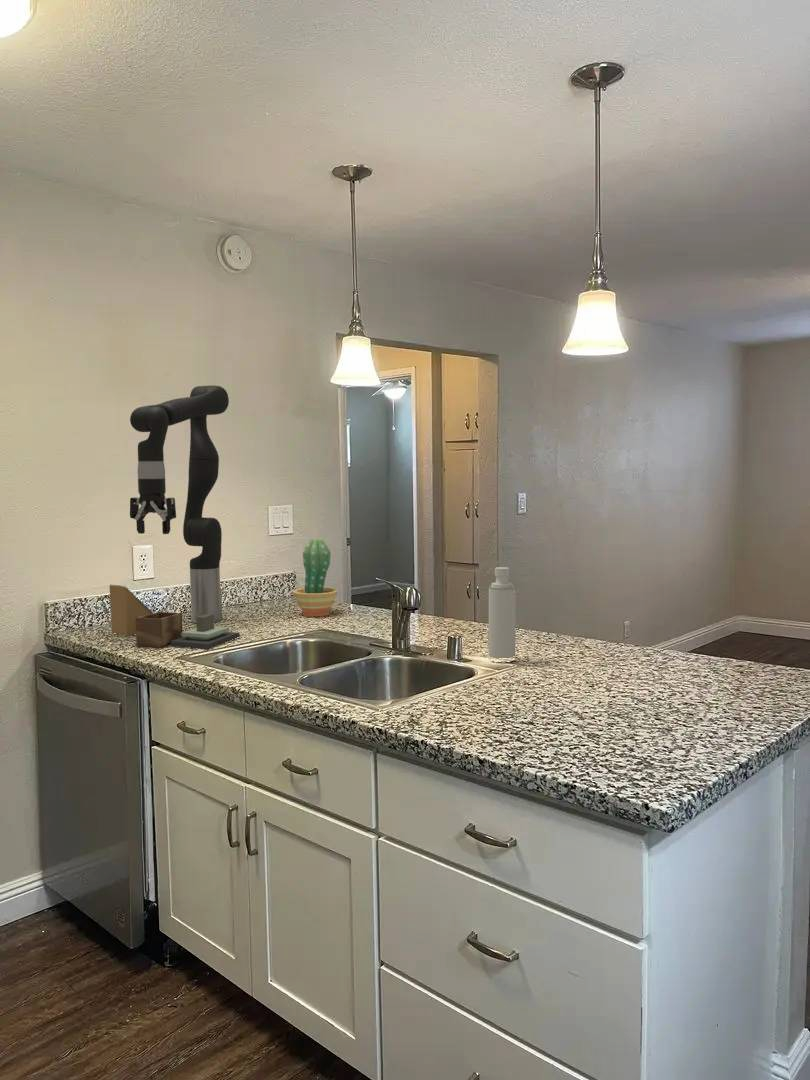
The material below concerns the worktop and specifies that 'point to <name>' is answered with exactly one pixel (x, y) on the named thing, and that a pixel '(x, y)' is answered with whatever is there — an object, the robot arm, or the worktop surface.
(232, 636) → the plate
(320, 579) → the potted cactus
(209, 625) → the lid
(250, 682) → the worktop surface
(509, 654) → the grey bottle
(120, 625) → the magazine file holder
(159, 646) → the walnut box
